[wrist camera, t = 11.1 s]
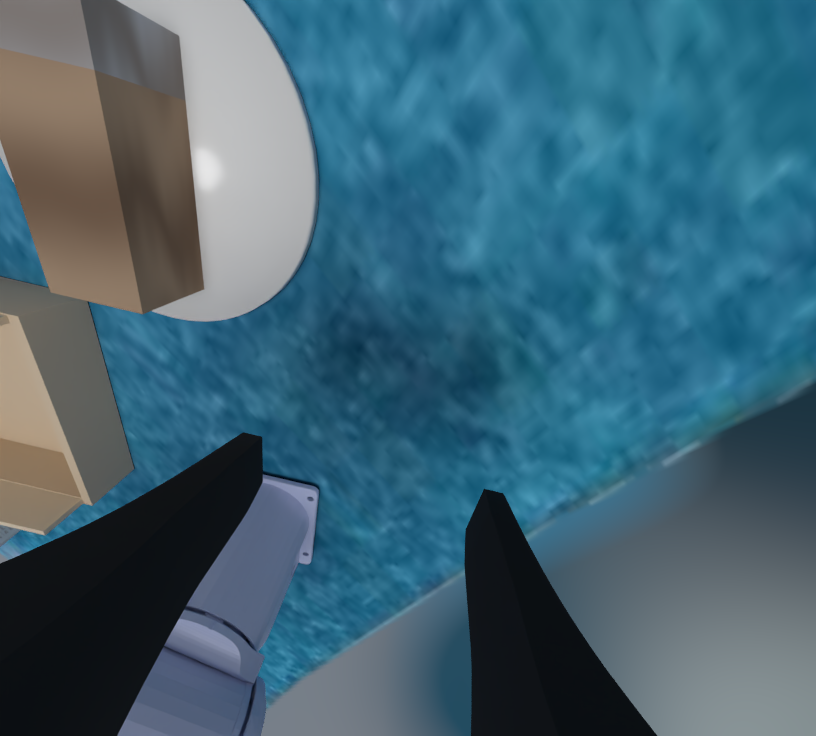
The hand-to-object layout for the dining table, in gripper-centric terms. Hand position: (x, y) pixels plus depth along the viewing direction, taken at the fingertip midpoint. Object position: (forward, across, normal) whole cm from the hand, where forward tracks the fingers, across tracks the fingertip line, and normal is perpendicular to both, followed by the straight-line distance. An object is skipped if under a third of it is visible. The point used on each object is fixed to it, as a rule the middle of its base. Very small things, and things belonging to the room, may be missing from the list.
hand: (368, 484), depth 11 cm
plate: (+9, +13, -7) cm, 18 cm away
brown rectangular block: (+9, +13, -7) cm, 17 cm away
